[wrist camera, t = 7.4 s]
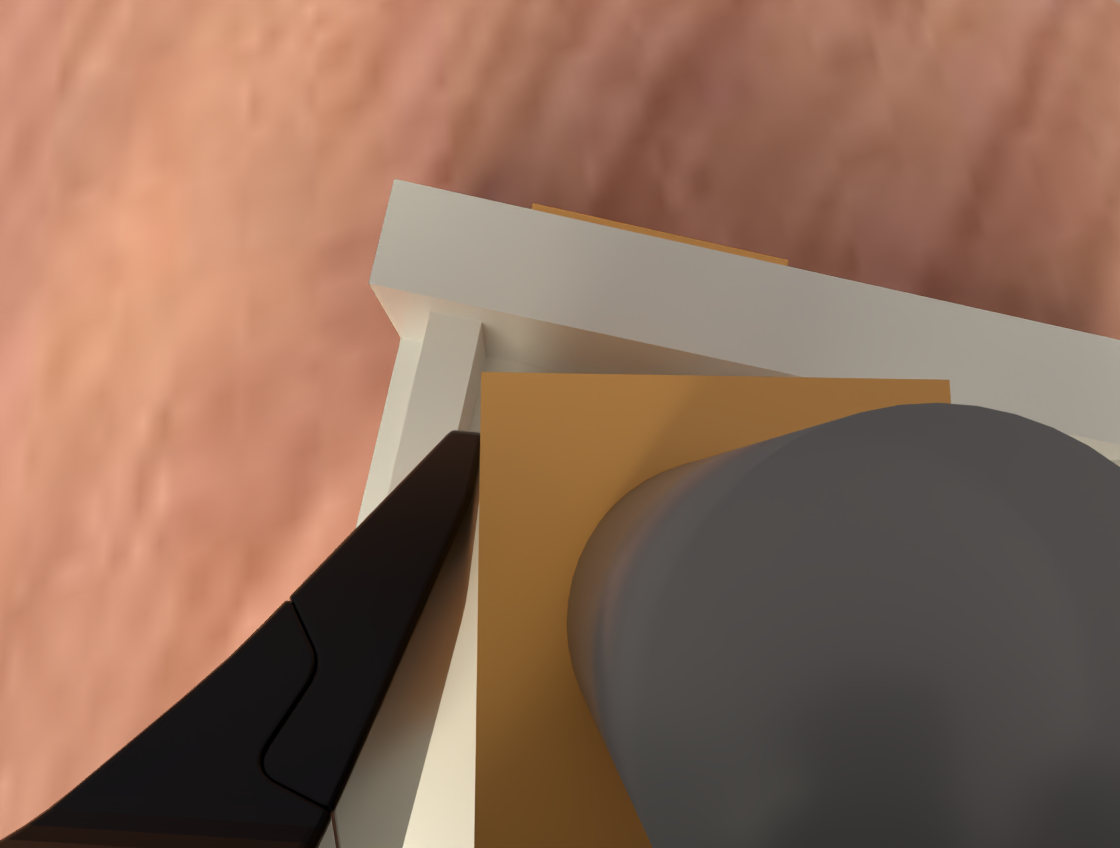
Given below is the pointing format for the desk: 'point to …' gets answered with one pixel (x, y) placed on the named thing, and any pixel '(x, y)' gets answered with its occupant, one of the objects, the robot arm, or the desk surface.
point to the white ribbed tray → (657, 363)
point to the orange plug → (791, 618)
